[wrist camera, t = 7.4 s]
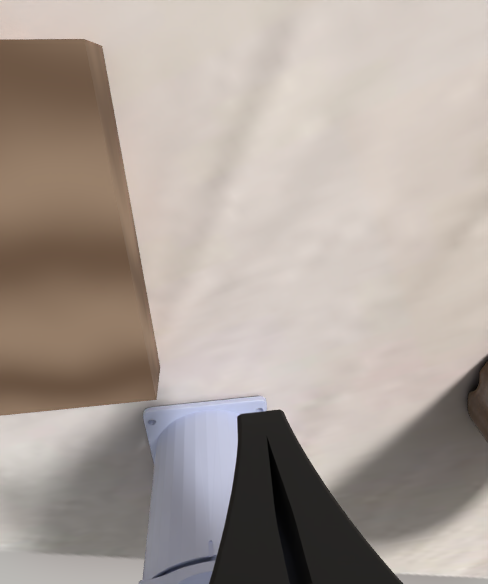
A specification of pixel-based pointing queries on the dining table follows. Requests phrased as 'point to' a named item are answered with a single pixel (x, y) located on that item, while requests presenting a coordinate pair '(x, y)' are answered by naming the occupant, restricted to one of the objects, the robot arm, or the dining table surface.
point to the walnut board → (67, 238)
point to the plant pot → (480, 403)
